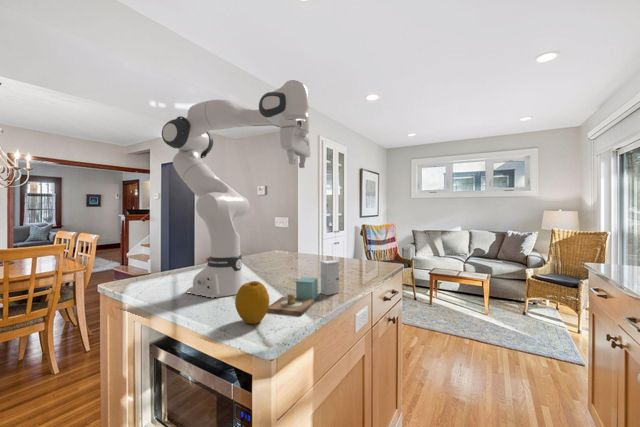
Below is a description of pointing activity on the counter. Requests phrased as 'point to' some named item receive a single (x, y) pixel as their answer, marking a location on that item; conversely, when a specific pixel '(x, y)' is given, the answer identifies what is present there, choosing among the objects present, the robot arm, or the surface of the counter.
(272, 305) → the tan plate with disc
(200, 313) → the counter surface
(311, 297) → the teal cube box
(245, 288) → the apple
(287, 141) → the robot arm
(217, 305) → the counter surface
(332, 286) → the skincare box
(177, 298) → the counter surface
